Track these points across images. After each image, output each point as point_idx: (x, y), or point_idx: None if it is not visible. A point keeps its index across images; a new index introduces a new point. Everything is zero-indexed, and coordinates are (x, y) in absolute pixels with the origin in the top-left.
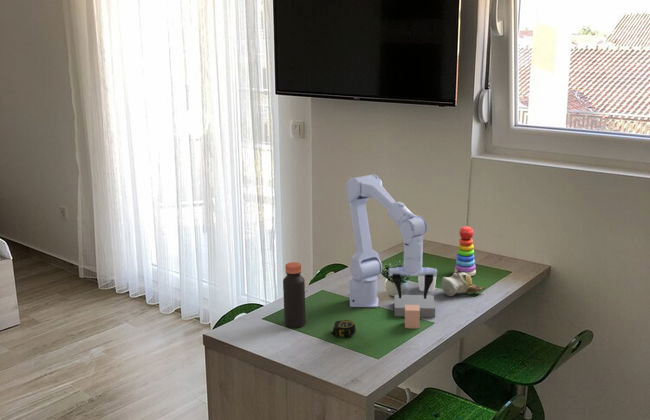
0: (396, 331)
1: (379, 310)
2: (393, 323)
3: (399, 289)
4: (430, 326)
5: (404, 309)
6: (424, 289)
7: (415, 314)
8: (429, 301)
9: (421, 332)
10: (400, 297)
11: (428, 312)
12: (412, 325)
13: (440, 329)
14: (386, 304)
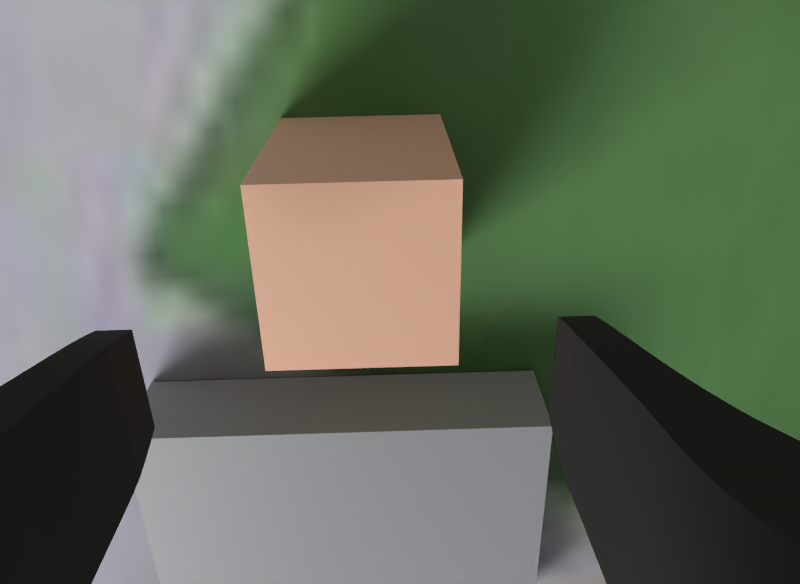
0: (540, 12)
1: None
2: (556, 219)
3: (672, 400)
4: (167, 176)
5: (446, 417)
6: (67, 488)
7: (311, 166)
8: (202, 570)
9: (249, 6)
10: (577, 319)
11: (202, 407)
12: (356, 123)
13: (46, 108)
14: (581, 565)
